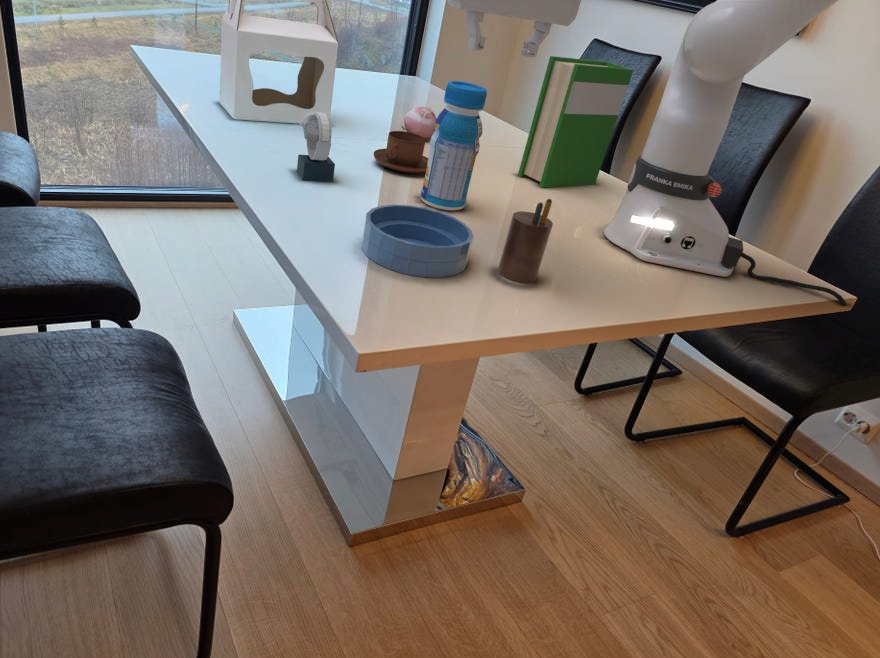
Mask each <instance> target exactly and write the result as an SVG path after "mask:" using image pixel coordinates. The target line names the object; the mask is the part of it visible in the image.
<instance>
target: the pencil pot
mask: <svg viewBox="0 0 880 658" xmlns="http://www.w3.org/2000/svg"><path fill="white" fill-rule="evenodd" d="M552 204H553V200H552V199H551V198H547V199H546V201H545V203H544V204H543V202H538V203H537V204H536V207H535V210H534V212H531V211H524V210H523V211H521V210H520V211H515V212H513V214H512V216H511V221H510V225H509V227H508V232H507V235H506V238H505V242H504V244H503V245H504V246H503V249H502V253H501V256H500V257H501V258H500V260H499V263H498V267H497V273H498V274H499V275H500V276H501V277H502V278H504V279H506V280H508V281H511V282H515V283H518V284H532V283H534V282H536V280H537V277H538V274H539V271H540V268H541V264H542V261H543V257H544V255H545V252H546V248H547V245H548V242H549V238H550V235H551V233H552V229H553V225H554V223H553V221H552V220H551V219H550V218H548V217H549V215H550V214H549V213H550V210H551V206H552Z"/></svg>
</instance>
